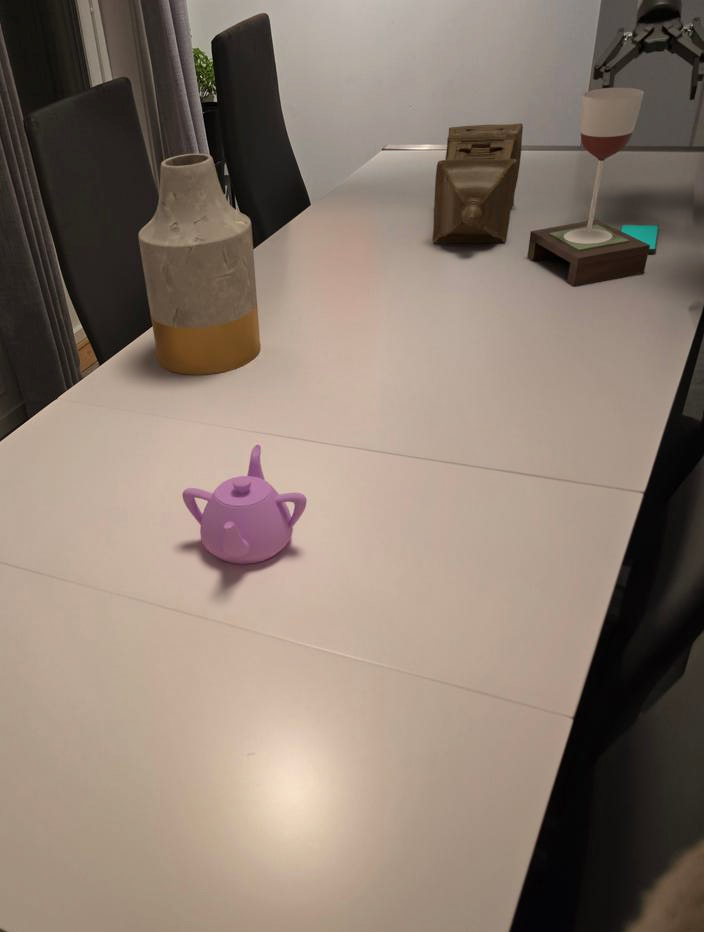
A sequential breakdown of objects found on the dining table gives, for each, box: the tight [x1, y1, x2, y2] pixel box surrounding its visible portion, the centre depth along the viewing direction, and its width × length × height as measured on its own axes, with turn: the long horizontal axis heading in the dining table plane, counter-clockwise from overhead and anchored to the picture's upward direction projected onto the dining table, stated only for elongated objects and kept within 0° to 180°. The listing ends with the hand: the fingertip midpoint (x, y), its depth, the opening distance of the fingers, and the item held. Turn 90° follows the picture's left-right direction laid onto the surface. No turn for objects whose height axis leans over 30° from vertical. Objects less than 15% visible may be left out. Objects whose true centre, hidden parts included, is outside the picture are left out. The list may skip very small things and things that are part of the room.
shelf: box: [526, 219, 650, 287], centre depth 159 cm, size 18×14×5 cm
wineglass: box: [564, 87, 645, 244], centre depth 150 cm, size 9×10×23 cm
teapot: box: [181, 444, 307, 565], centre depth 101 cm, size 12×14×9 cm
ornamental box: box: [432, 122, 524, 244], centre depth 177 cm, size 35×18×18 cm, turn 163°
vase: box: [138, 153, 261, 376], centre depth 138 cm, size 18×18×30 cm
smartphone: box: [619, 224, 660, 254], centre depth 167 cm, size 7×1×15 cm
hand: (650, 98), depth 150 cm, fingers open, 13 cm apart
